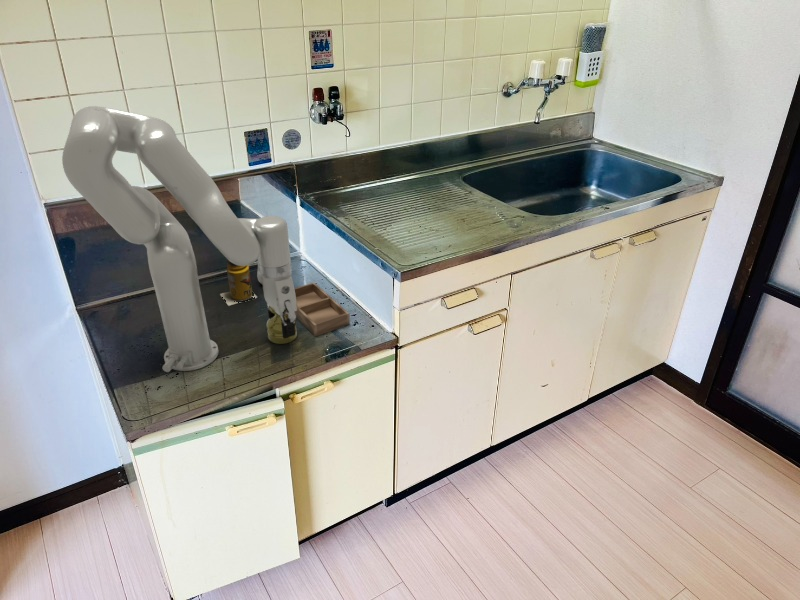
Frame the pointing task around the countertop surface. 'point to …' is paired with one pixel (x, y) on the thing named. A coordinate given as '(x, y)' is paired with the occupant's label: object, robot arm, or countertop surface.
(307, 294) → the caddy
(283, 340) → the brass weight
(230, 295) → the condiment
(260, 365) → the countertop surface
